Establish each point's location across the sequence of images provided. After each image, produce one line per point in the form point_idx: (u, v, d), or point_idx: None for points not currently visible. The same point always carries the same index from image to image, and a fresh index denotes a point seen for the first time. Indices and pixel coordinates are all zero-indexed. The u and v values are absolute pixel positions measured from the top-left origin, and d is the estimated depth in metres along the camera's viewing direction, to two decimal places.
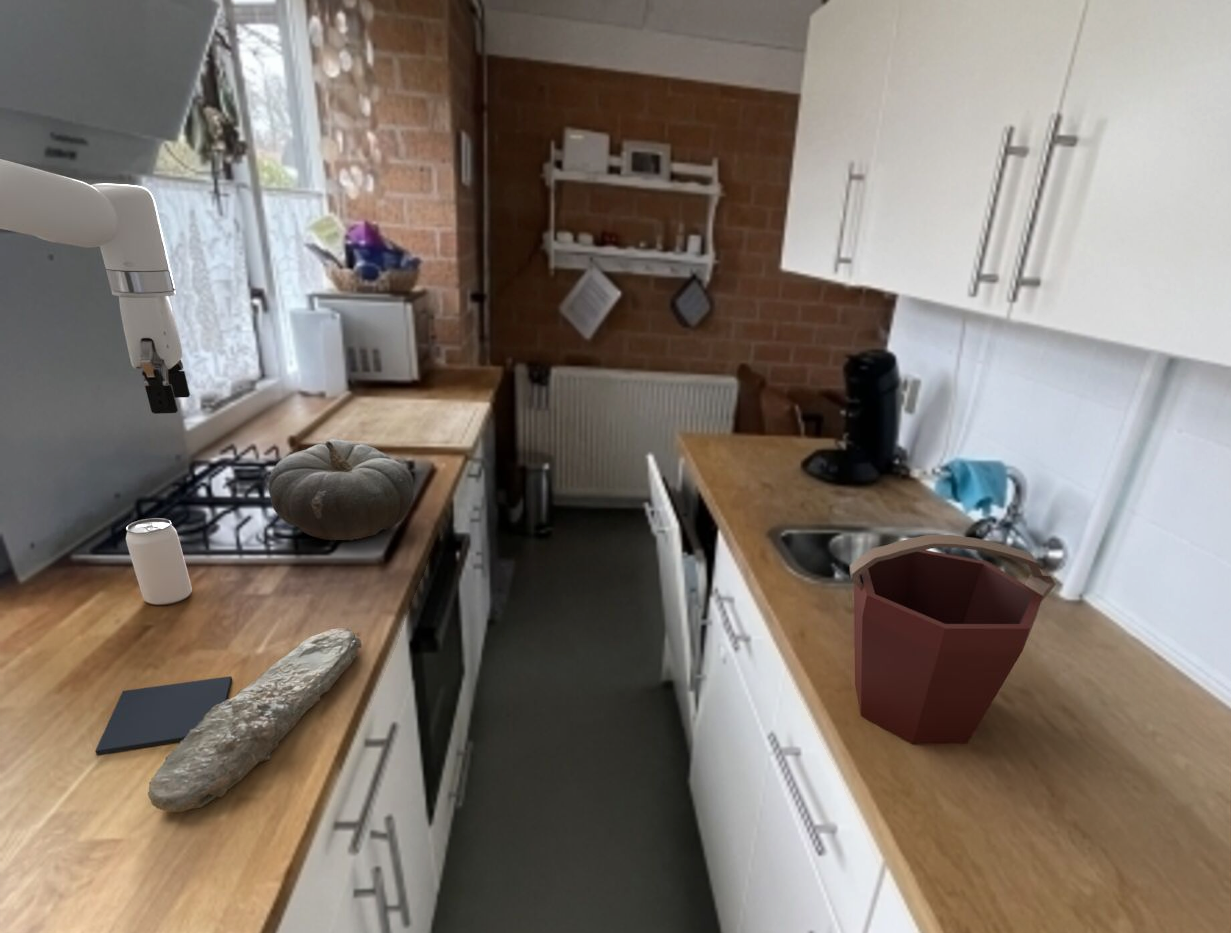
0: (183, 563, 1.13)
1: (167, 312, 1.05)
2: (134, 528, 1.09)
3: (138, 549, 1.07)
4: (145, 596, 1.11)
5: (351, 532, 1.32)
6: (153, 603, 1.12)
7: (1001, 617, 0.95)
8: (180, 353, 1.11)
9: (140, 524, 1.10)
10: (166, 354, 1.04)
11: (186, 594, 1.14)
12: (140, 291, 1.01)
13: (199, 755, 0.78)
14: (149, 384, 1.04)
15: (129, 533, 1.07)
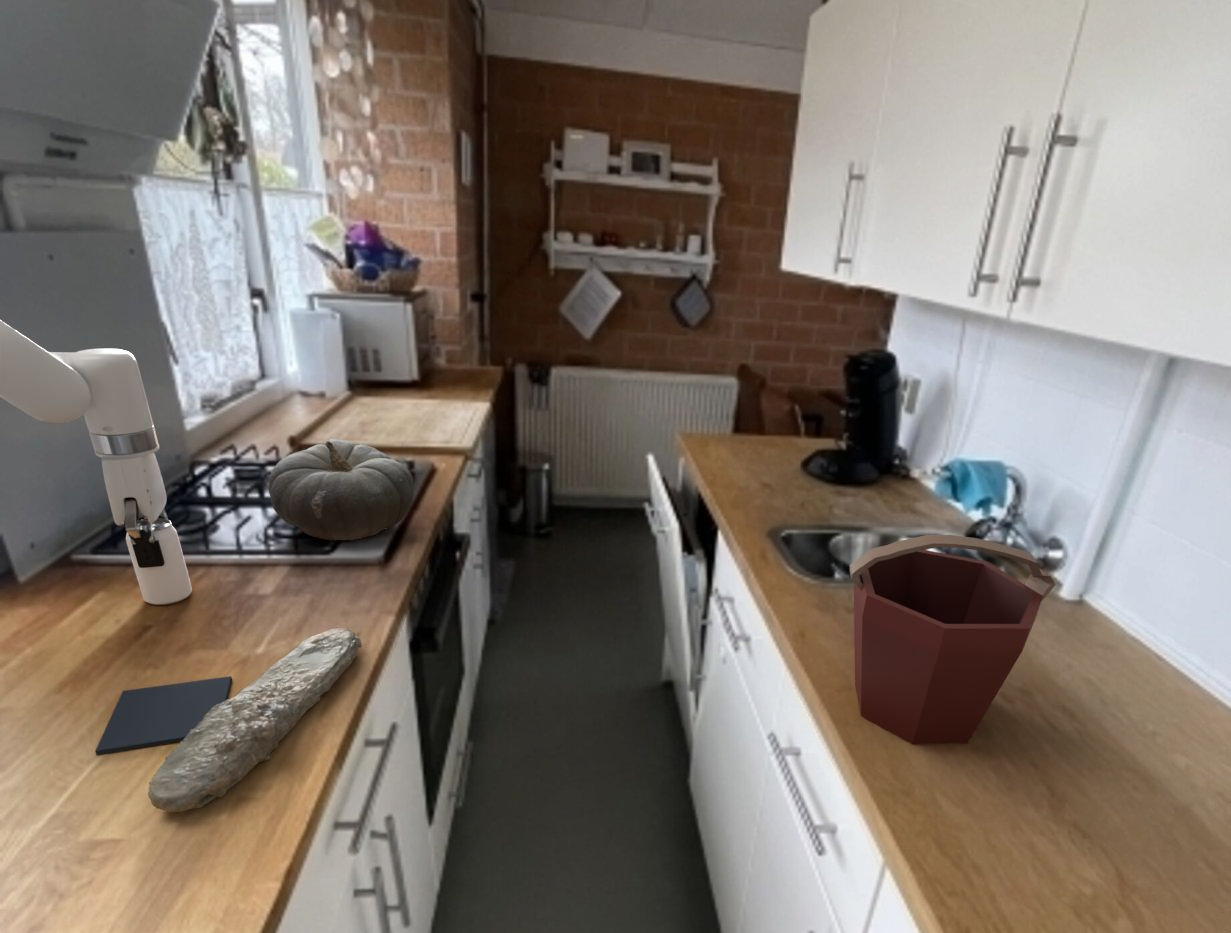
0: (183, 563, 1.13)
1: (150, 467, 1.05)
2: None
3: None
4: (145, 596, 1.11)
5: (351, 532, 1.32)
6: (153, 603, 1.12)
7: (1001, 617, 0.95)
8: (164, 500, 1.11)
9: None
10: (149, 511, 1.04)
11: (186, 594, 1.14)
12: (123, 453, 1.01)
13: (199, 755, 0.78)
14: (136, 543, 1.05)
15: None
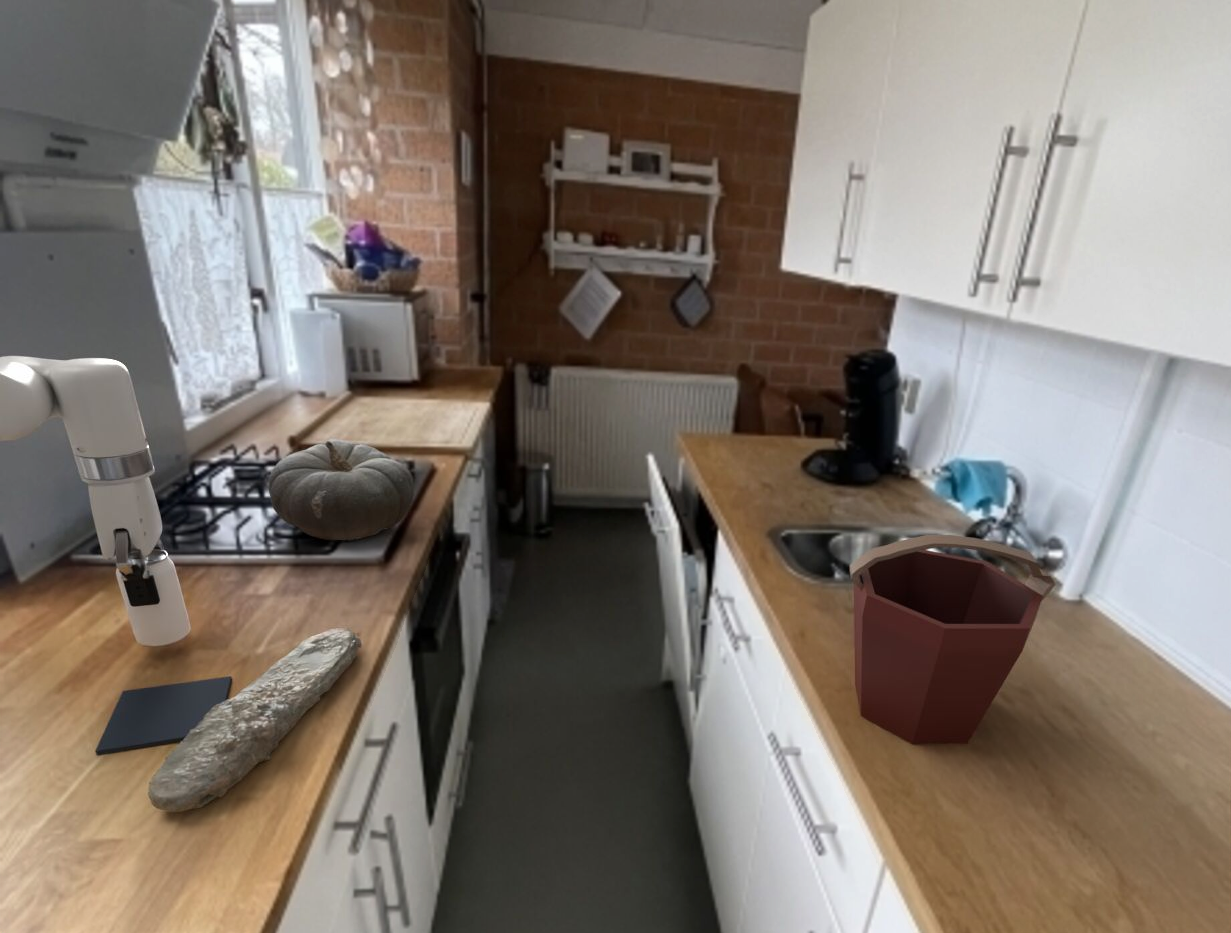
0: (181, 599, 1.00)
1: (144, 493, 0.92)
2: None
3: None
4: (138, 637, 0.98)
5: (351, 532, 1.32)
6: (147, 645, 0.99)
7: (1001, 617, 0.95)
8: (160, 529, 0.98)
9: None
10: (143, 543, 0.91)
11: (184, 634, 1.01)
12: (113, 478, 0.88)
13: (199, 755, 0.78)
14: (127, 579, 0.92)
15: None
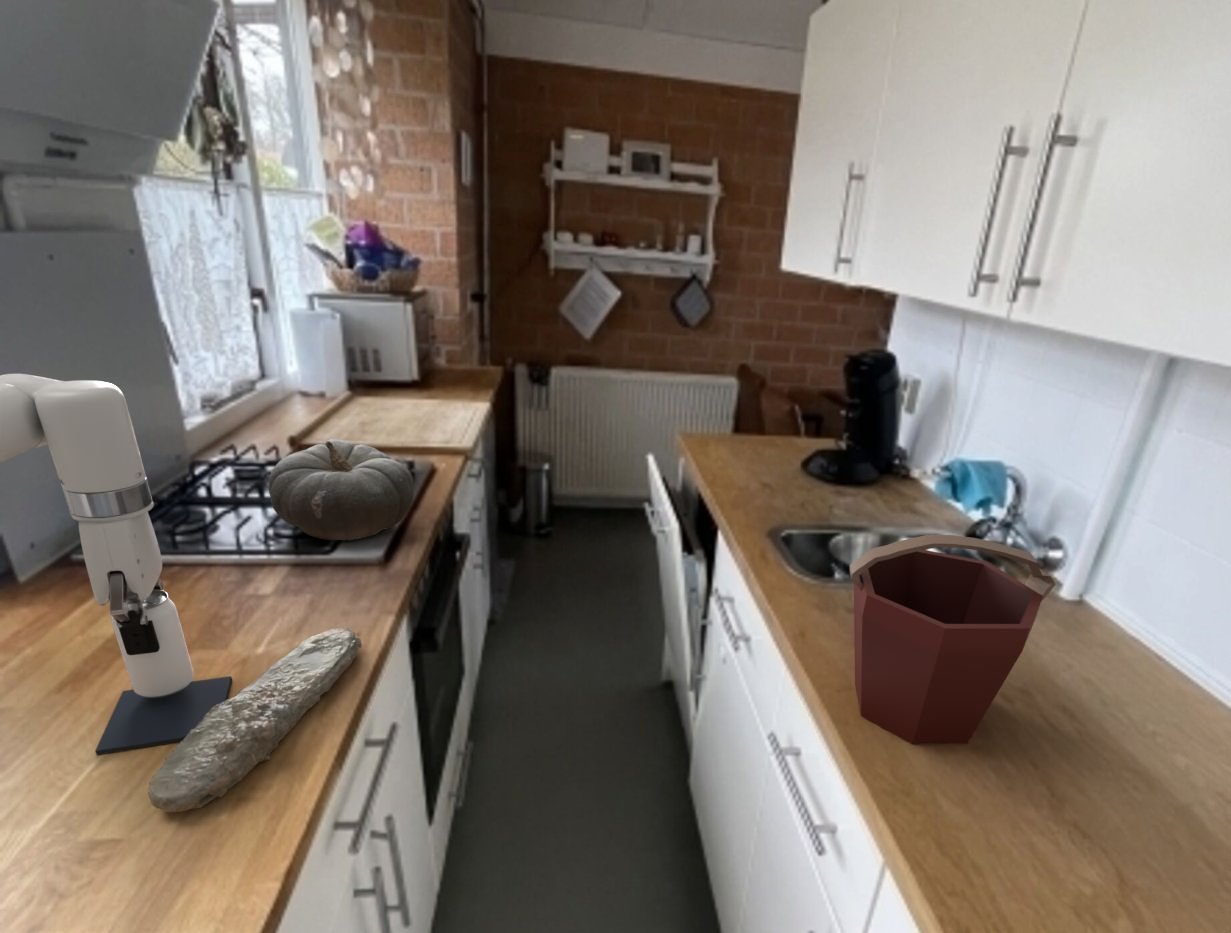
0: (183, 644, 0.90)
1: (142, 530, 0.82)
2: None
3: None
4: (135, 687, 0.89)
5: (351, 532, 1.32)
6: (145, 696, 0.89)
7: (1001, 617, 0.95)
8: (160, 567, 0.88)
9: None
10: (140, 586, 0.82)
11: (187, 682, 0.91)
12: (106, 515, 0.78)
13: (199, 755, 0.78)
14: (123, 626, 0.83)
15: None
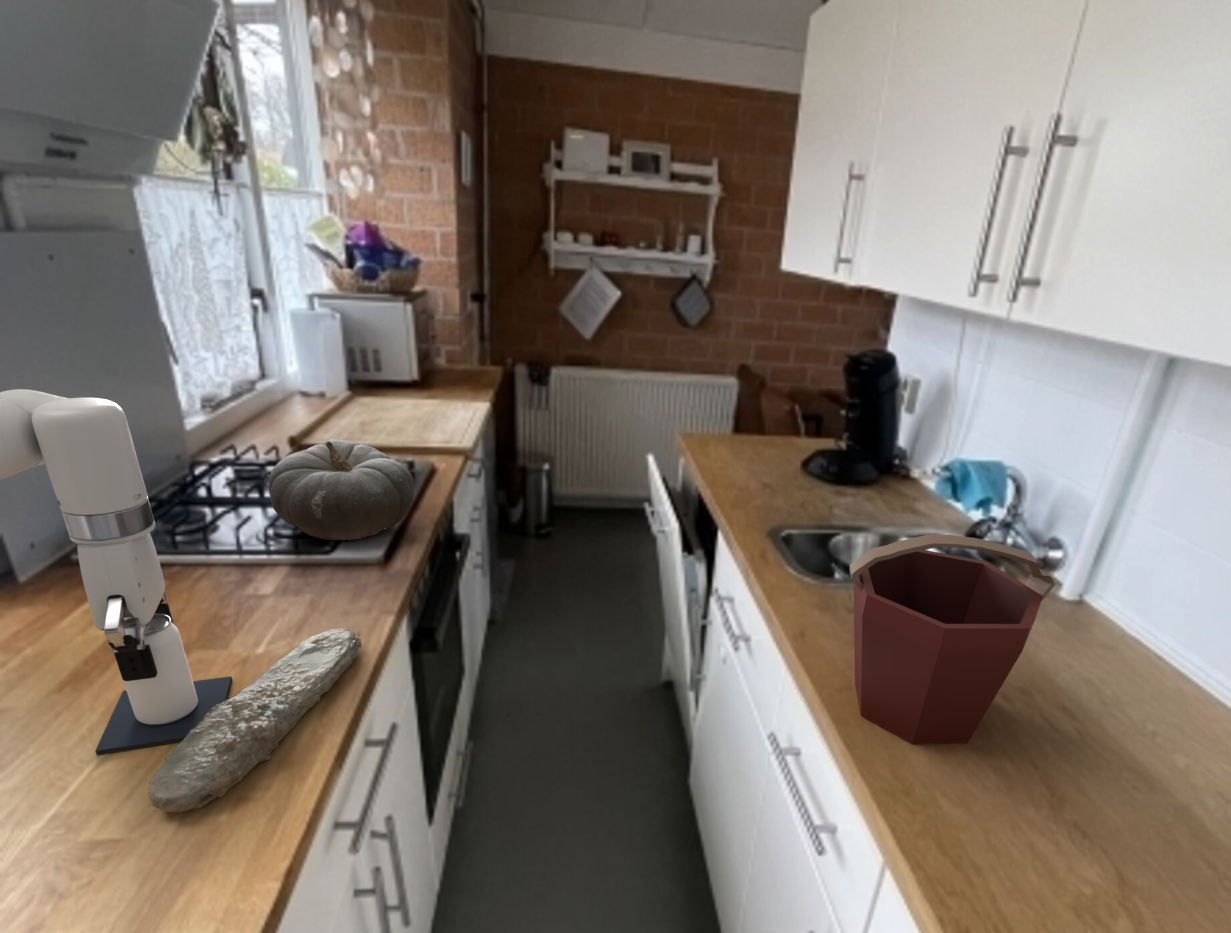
0: (187, 670, 0.87)
1: (143, 552, 0.79)
2: None
3: None
4: (137, 715, 0.86)
5: (351, 532, 1.32)
6: (148, 723, 0.86)
7: (1001, 617, 0.95)
8: (162, 589, 0.85)
9: None
10: (141, 611, 0.79)
11: (190, 708, 0.88)
12: (106, 537, 0.75)
13: (199, 755, 0.78)
14: (119, 651, 0.78)
15: None
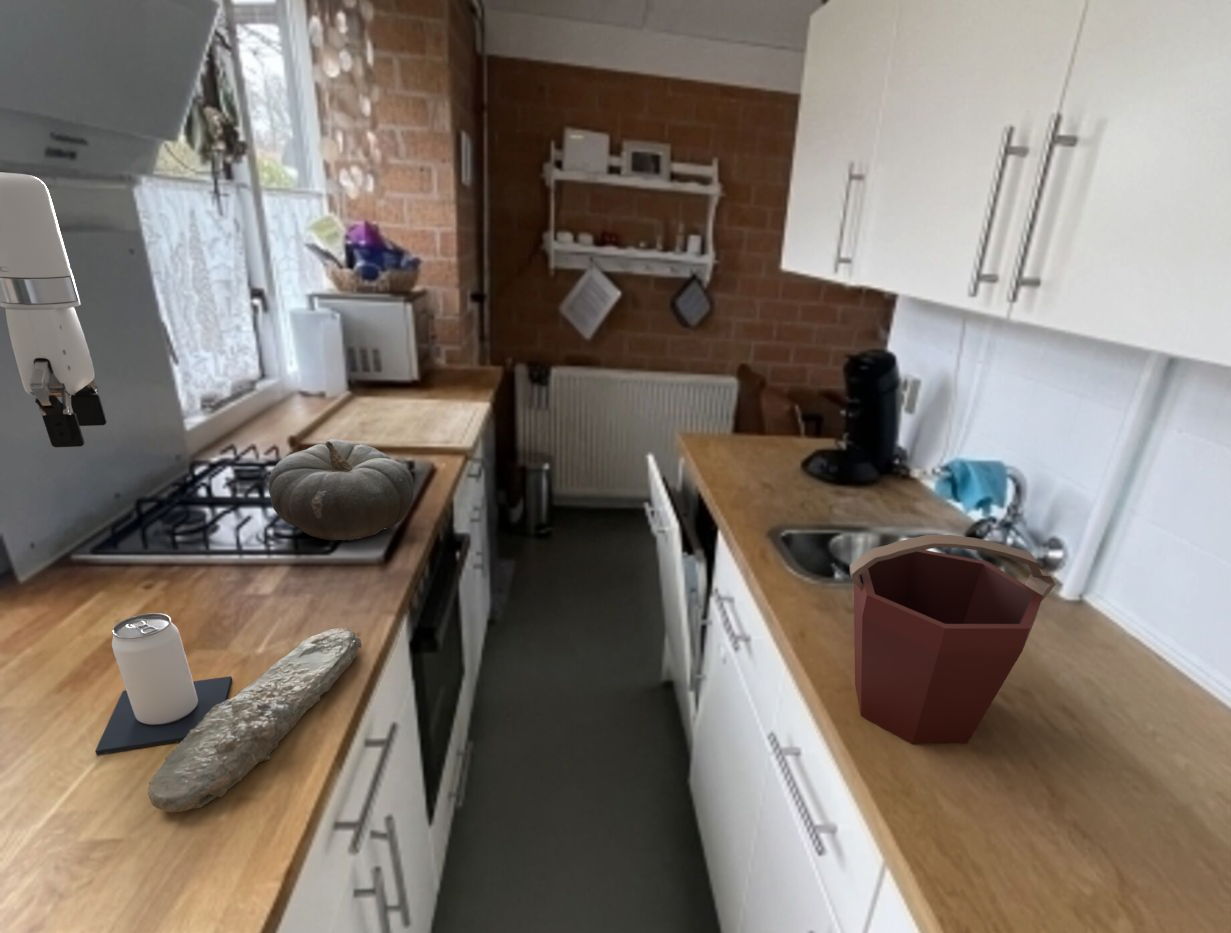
0: (187, 670, 0.87)
1: (69, 326, 0.88)
2: (123, 629, 0.83)
3: (127, 659, 0.82)
4: (137, 715, 0.86)
5: (351, 532, 1.32)
6: (148, 723, 0.86)
7: (1001, 617, 0.95)
8: (91, 374, 0.94)
9: (131, 623, 0.85)
10: (67, 377, 0.87)
11: (190, 708, 0.88)
12: (32, 302, 0.83)
13: (199, 755, 0.78)
14: (46, 413, 0.87)
15: (116, 637, 0.82)
